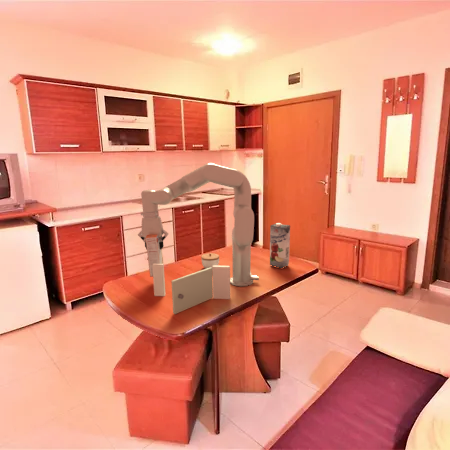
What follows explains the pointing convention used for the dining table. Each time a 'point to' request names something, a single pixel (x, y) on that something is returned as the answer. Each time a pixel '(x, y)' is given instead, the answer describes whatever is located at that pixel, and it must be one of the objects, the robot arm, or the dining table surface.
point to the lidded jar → (210, 260)
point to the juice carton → (279, 245)
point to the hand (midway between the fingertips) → (154, 248)
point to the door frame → (219, 281)
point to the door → (192, 290)
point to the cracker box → (153, 252)
